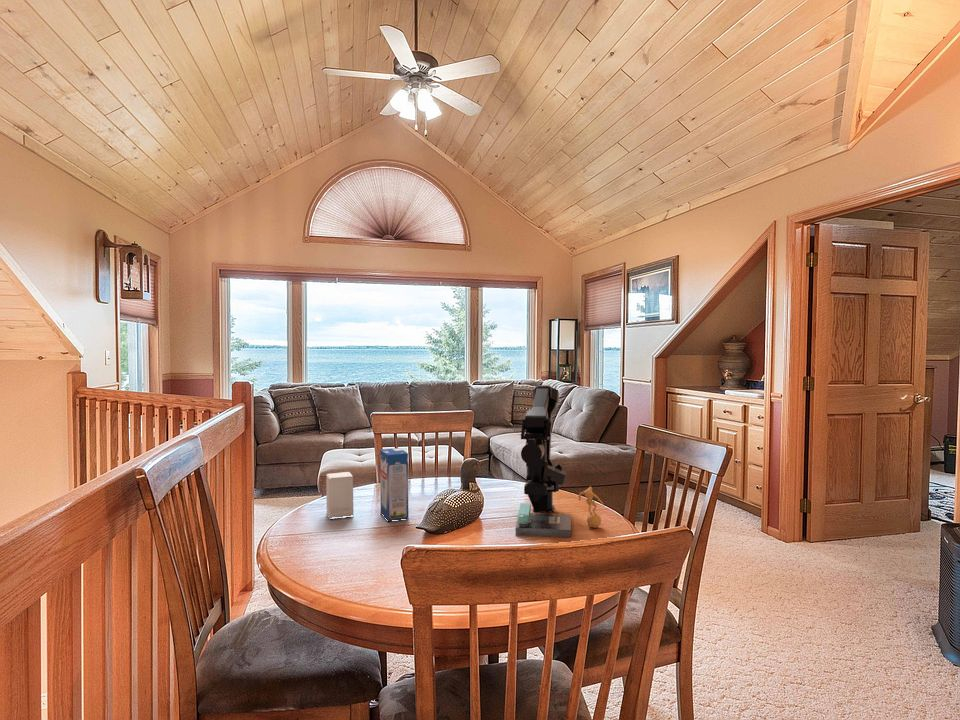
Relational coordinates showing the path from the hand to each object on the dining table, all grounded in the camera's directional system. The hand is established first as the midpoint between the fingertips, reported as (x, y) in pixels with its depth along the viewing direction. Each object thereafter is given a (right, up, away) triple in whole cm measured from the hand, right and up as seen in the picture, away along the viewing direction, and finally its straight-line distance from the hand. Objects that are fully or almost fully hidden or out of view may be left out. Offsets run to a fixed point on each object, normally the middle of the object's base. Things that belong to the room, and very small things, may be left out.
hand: (536, 511), depth 156 cm
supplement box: (-60, -4, +11) cm, 61 cm away
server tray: (+2, -4, -2) cm, 5 cm away
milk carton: (-43, -4, +9) cm, 44 cm away
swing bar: (-4, -1, -2) cm, 4 cm away
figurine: (+15, -4, -3) cm, 16 cm away
